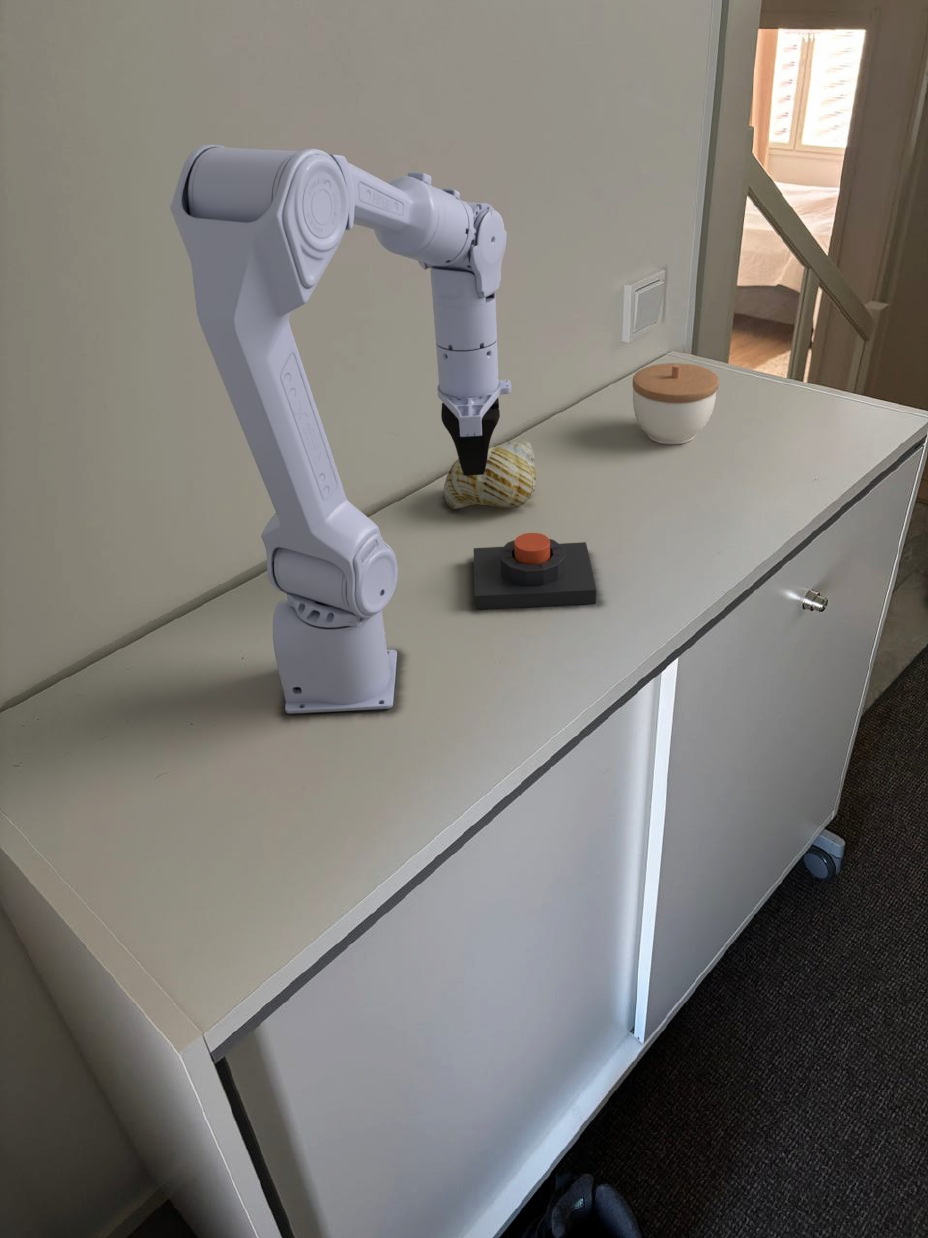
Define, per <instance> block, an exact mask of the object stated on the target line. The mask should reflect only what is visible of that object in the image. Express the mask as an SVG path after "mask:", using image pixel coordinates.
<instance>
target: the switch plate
mask: <svg viewBox="0 0 928 1238" xmlns="http://www.w3.org/2000/svg"><path fill="white" fill-rule="evenodd" d="M549 540H550V558H549V560H548V561H546V562H543V563H541V564H531V565H528V564H524V563H520V562H518V561H517V560H516V559H515V552H514V541H515V539H513V540H510V541H508V542H507V543H506V544H505V545H504V546H490V547H487V546H486V547H473V576H474V577H473V579H474V581H473V582H474V602H475V605H474V606H475V610H478V611H479V610H496V609H513V608H534V607H536V608H537V607H554V606H573V605H592V604H594V605H595V604H597V586H596V582H595V577H594V572H593V569H592V564H591V559H590V555H589V550H588V546H587V545H588V544H587V542H583V541H582V542H581V541H580V542H565V543H564V542H563V543H559V542H558V541H556V540H555V539H551V538H549Z"/></svg>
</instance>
